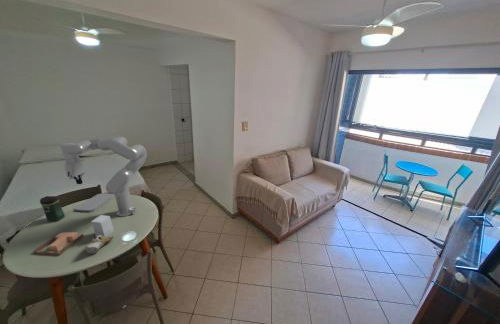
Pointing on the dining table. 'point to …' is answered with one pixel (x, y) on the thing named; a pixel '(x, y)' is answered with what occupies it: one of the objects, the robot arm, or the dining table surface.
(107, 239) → the ceramic sculpture
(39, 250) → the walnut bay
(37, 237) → the dining table surface
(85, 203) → the tablet
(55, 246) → the t block
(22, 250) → the dining table surface
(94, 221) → the supplement box
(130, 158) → the robot arm
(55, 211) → the coffee jar
